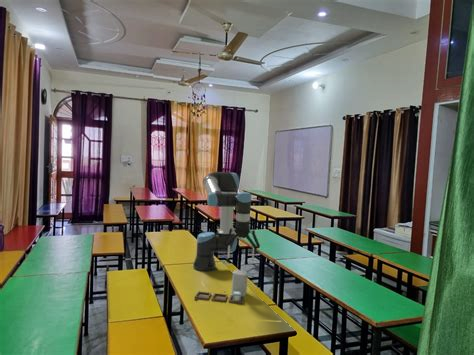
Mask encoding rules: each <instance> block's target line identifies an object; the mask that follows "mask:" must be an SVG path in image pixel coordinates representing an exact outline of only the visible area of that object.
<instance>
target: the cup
mask: <svg viewBox="0 0 474 355" xmlns="http://www.w3.org/2000/svg"><path fill="white" fill-rule="evenodd" d="M248 276H249V274H248V271H246V270H243V269H235V270H233V272H232V278H231V279H232V282H231V295H233V291H239V292H241V296H244V297H245V296H246V295H247V289H248Z"/></svg>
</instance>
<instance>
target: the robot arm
mask: <svg viewBox="0 0 474 355" xmlns="http://www.w3.org/2000/svg"><path fill="white" fill-rule="evenodd" d="M202 185H203V187H204V189H205V190H206V192H207V198H206V199H207V201H206V202H207V206H208V207H213V208H215V207H216V208H217V207H218V208H220V217H219V218H220V220H219V222H220V225H219V230H218V231H217V234H216V233H215V232H214V231H213V232H212V231H206V232H205V231H204V232H201V233H199V234H198V235H197V239H196V256H195V259H194V261H193V266H192V268H193V269H194V270H196V271H200V272H211V271H213V270H214V271H215V270H216V267H217V264H216V261H215V260H216V259H215V257H214V256H215V255H214V254H215V253H227V259H229V258H230V256H231V254H230V253H233V252H235V251H236V248H237V246H238V245H237V244H238V238H239V239H241V238H242V239H247V241H248V242H249V243H250V245H251V246H252V254H251V255H252V256H251V261H254V260H255V255H256V254H257V249H259V248H260V247H261V245H260V242H259V240H258V238H257V235H256V230H255V229H252V230H250V225H251V224H250V220H251V205H252V194H251V192H247V191H239V192H237V191H238V190H240V179H239V176H238V174H237V173H236V172H231V171H230V172H229V171H226V172H225V171H224V172H223V171H212V172H210V173H208V174H206V175H205V176H204V178H203V180H202ZM234 208H236V213H235V214H236V215H235V219H236V221H235V228H234V227H233V225H234ZM249 234H250V235H252V237H250V235H249ZM252 238H253V239H252Z"/></svg>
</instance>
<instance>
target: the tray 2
mask: <svg viewBox="0 0 474 355" xmlns="http://www.w3.org/2000/svg"><path fill="white" fill-rule="evenodd" d="M228 297H229V296H228V294H226V293H225V294H224V293H216V292H215V293H213V295H212V297H211V298H210V299H211V301H212V302H220V303H221V302H222V303H226V301H227V299H228Z"/></svg>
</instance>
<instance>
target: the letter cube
mask: <svg viewBox="0 0 474 355" xmlns="http://www.w3.org/2000/svg"><path fill="white" fill-rule="evenodd" d="M233 301H241V292H239V291H233Z"/></svg>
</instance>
